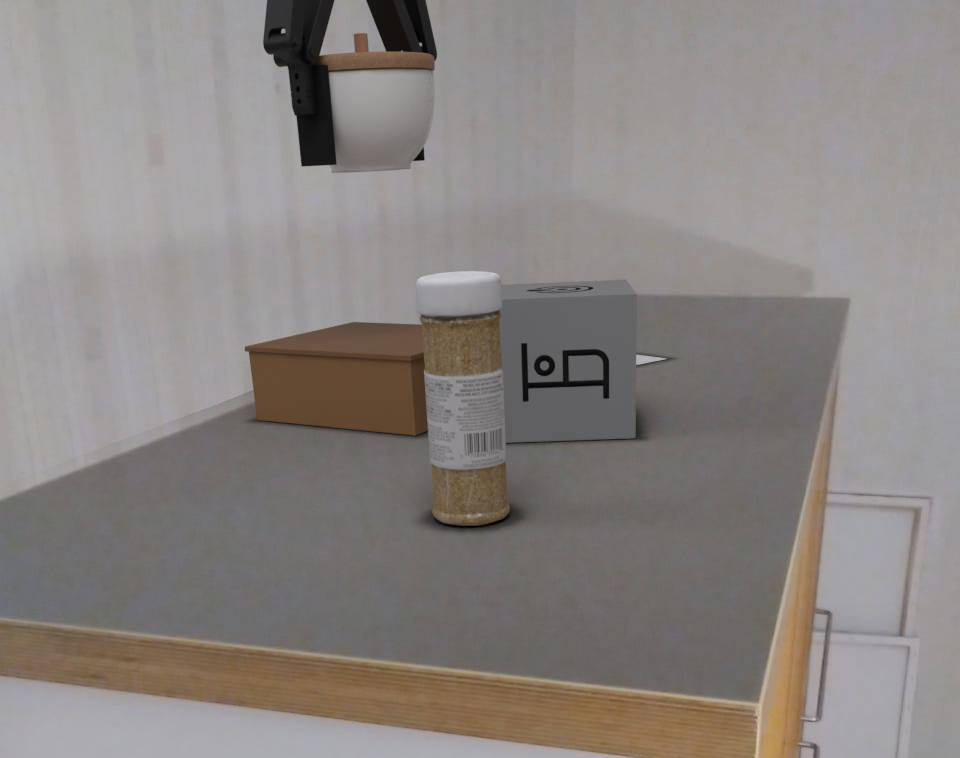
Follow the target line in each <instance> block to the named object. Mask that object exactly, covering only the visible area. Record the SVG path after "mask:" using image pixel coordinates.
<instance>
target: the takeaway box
mask: <svg viewBox="0 0 960 758" xmlns="http://www.w3.org/2000/svg"><path fill="white" fill-rule="evenodd" d="M422 332H423V331H422V324H421V323H420V324H416V323H415V324H414V323H394V322H393V323H390V322H363V321H352V322H347V323H344V324H343V323H342V324H339V325H338V324H337V325H334V326H330V327H329V326H328V327H325V328H320V329H316V330H311V331H307V332H303V333H298V334H295V335H290V336H286V337H281V338H280V337H279V338H276V339H271V340H267V341H263V342H258V343H254V344H250V345H246V346H244V352H247V353H248V357H249V364H250V372H251V381H252V382H251V383H252V389H253V396H254V397H253V399H254V405H255V406H254V407H255V414H256V420H257V421H263V422H271V423H272V422H273V423H282V424H292V425H301V426H303V425H304V426H314V427H323V428H333V429H345V430H353V431H354V430H355V431H365V432H374V433H384V434H393V435H404V436H414V437H415V436H418V435H421V434H424V433H426V432H428V422H427V408H426V394H425V379H424V370H425V362H424V349H423V335H422Z"/></svg>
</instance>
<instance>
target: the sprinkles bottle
mask: <svg viewBox="0 0 960 758" xmlns="http://www.w3.org/2000/svg"><path fill="white" fill-rule="evenodd" d="M501 278H502V277H501V276H500V275H499V274H498V273H496V272H492V271H482V270H463V271H462V270H460V271H458V270H457V271H447V272H437V273H432V274H427V275H424V276H423V275H422V276H421V277H419V278H417V280H416V281H415V293H416V296H415V297H416V308H417V313H418V314H420V316H419V322H420V324H421V325H422V331H423V332H422V335H423V349H424V362H425V370H424V379H425V394H426V408H427V422H428V431H427V436H428V448H429V449H428V450H429V453H428V454H429V461H430V466H431V477H432V478H431V479H432V495H433V507H432V516H433V517H434V518H435V519H436V520H438V522H441V523H443V524H446V525H452V526H463V527H465V526H467V527H468V526H486V525H489V524H492V523H496V522H498V521H500V520H502V519H504V518H506V517H507V515H508V514H510V510H511V507H510V503H509V500H508V489H507V487H508V484H507V463H506V460H507V445H506V440H505V411H504V387H503V370H502V359H501V341H500V328H499V321H500V317H501V313H500V311H499V310H500V309H501V308H502V290H501V285H502V279H501Z"/></svg>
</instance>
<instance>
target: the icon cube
mask: <svg viewBox="0 0 960 758" xmlns="http://www.w3.org/2000/svg"><path fill="white" fill-rule="evenodd" d="M501 290H502V308H501V309H500V310H499V311H500V313H501V317H500V321H499V328H500V341H501V359H502V370H503V387H504V411H505V440H506V443H507V444H508V443H535V442H536V443H539V442H567V441H594V440H597V441H598V440H623V439H624V440H625V439H627V440H628V439H636V434H637V433H636V432H637V431H636V429H637V428H636V427H637V425H636V424H637V421H636V420H637V365H636V355H637V335H638V334H637V325H638V321H637V320H638V319H637V318H638V294H637V292H636V291H635V289H634V288H633V287H632V285H631V284H630V283H629V282H628V280H627V279H609V280H607V279H606V280H605V279H604V280H585V281H583V280H582V281H562V282H561V281H559V282H557V281H556V282H538V283H537V282H536V283H535V282H534V283H512V284H511V283H510V284H501Z"/></svg>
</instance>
